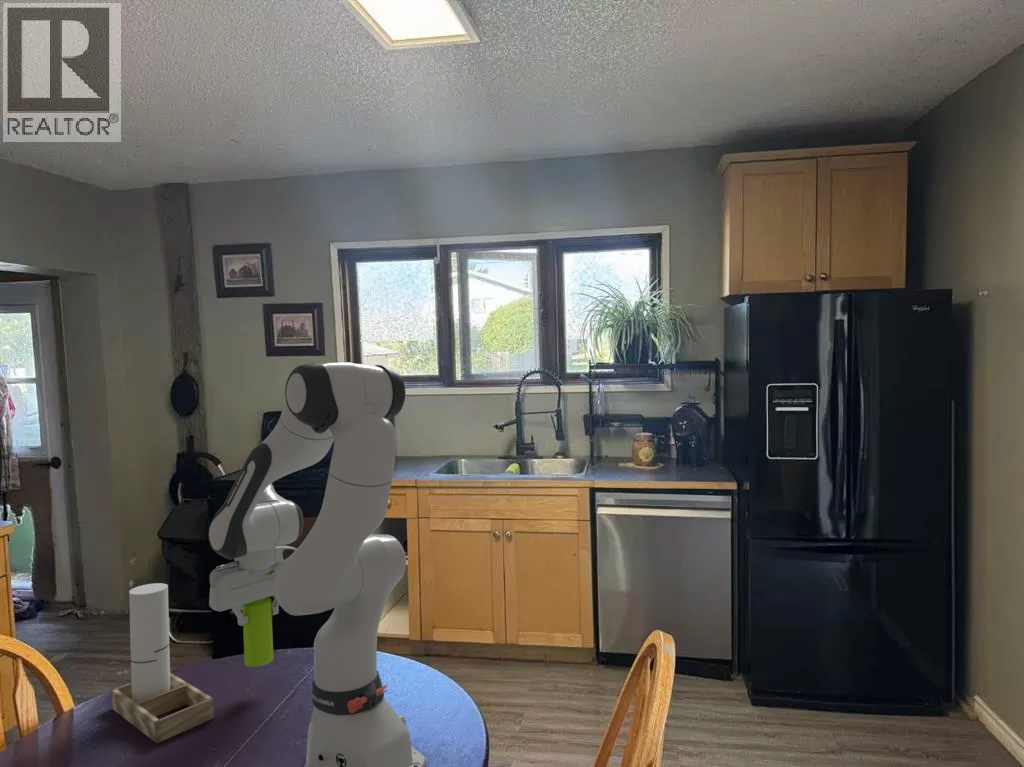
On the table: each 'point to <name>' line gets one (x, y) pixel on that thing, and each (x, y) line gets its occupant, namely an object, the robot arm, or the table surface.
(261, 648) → the soap dispenser
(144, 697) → the cylindrical container
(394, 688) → the table surface
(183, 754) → the table surface
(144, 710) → the frame
